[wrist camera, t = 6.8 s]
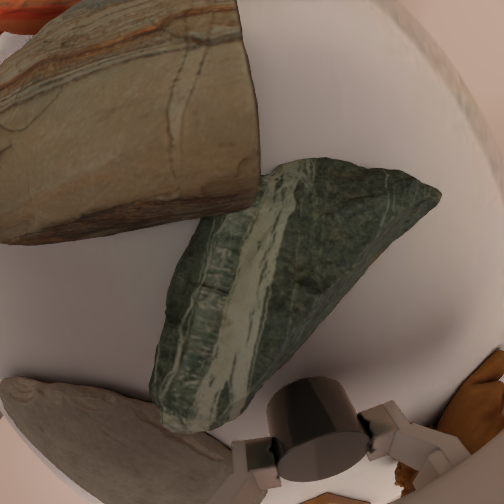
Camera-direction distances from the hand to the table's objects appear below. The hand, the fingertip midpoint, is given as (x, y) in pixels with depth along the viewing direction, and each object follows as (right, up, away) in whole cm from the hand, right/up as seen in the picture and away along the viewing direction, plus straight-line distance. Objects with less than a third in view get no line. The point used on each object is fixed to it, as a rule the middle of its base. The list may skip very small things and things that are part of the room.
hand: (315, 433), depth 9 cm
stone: (-11, -6, +4) cm, 14 cm away
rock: (-4, +6, +2) cm, 8 cm away
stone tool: (-16, +13, -4) cm, 21 cm away
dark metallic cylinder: (0, 0, +2) cm, 2 cm away
